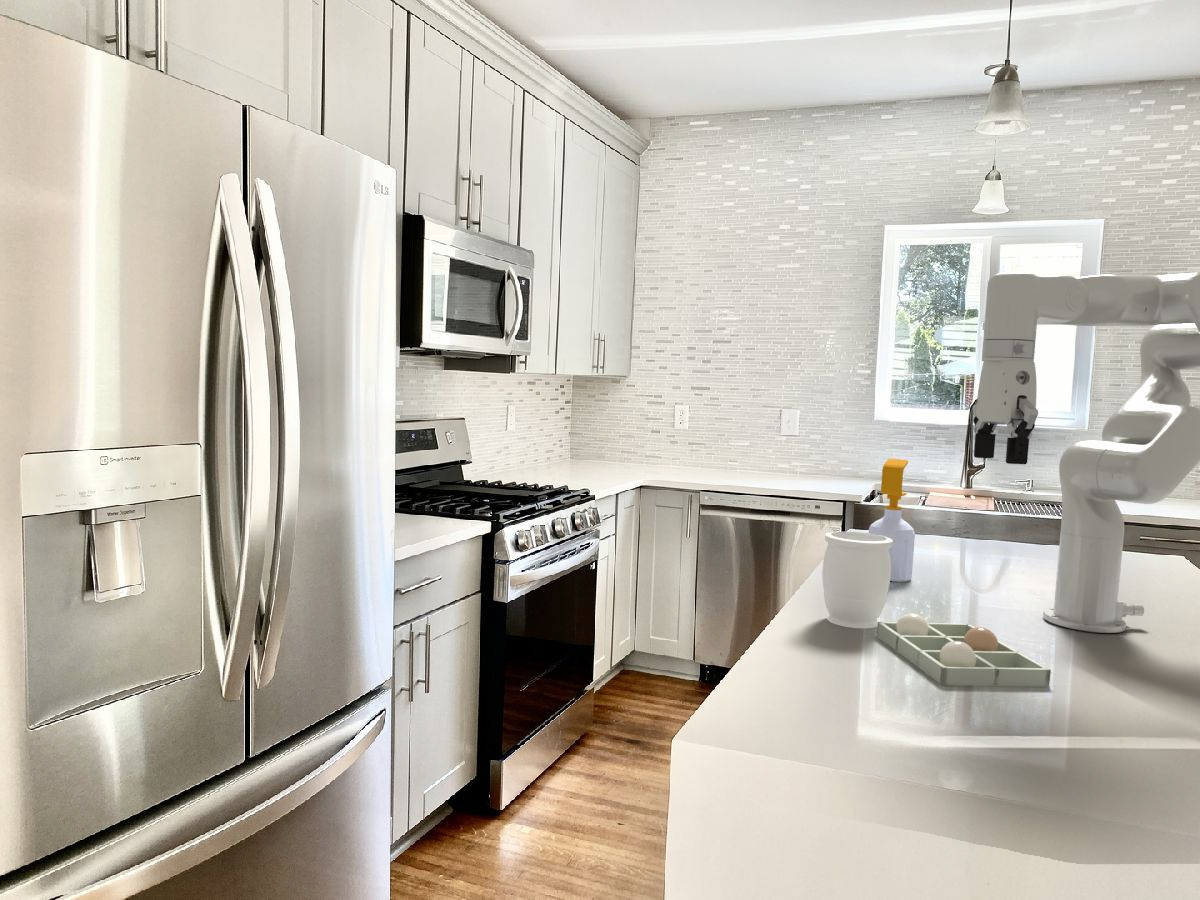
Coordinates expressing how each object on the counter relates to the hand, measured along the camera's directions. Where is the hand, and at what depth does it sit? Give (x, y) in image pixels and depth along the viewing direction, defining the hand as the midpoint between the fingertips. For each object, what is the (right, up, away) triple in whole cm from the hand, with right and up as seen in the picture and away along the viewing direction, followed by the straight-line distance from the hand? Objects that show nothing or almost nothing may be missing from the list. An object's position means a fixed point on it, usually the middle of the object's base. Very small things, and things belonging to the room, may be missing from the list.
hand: (999, 460), depth 142 cm
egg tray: (-13, -29, -15) cm, 35 cm away
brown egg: (-9, -28, -14) cm, 33 cm away
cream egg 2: (-16, -29, -22) cm, 39 cm away
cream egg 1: (-17, -27, -8) cm, 33 cm away
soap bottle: (-4, -25, +43) cm, 50 cm away
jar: (-22, -27, +3) cm, 36 cm away
